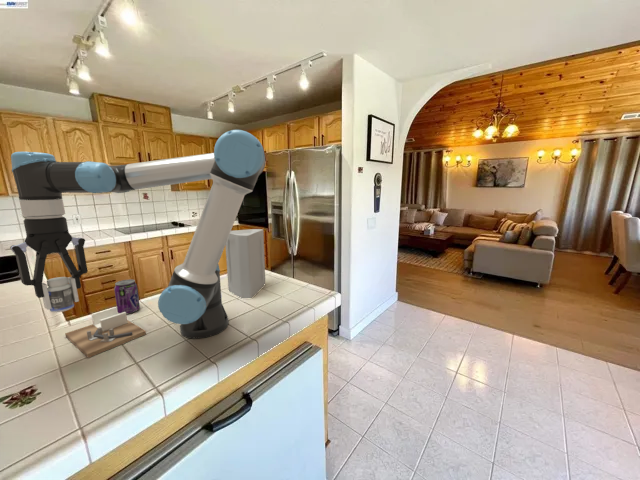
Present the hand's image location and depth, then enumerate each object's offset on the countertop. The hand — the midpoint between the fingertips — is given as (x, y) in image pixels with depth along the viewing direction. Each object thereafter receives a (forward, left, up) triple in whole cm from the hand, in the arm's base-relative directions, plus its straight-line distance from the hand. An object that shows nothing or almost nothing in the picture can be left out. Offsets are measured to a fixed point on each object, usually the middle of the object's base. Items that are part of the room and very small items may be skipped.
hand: (62, 304), depth 71 cm
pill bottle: (0, 0, -2) cm, 2 cm away
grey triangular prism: (+2, -62, -17) cm, 64 cm away
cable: (+4, -11, -15) cm, 19 cm away
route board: (+8, -10, -17) cm, 21 cm away
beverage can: (+22, -22, -17) cm, 35 cm away
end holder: (+13, -13, -15) cm, 24 cm away
